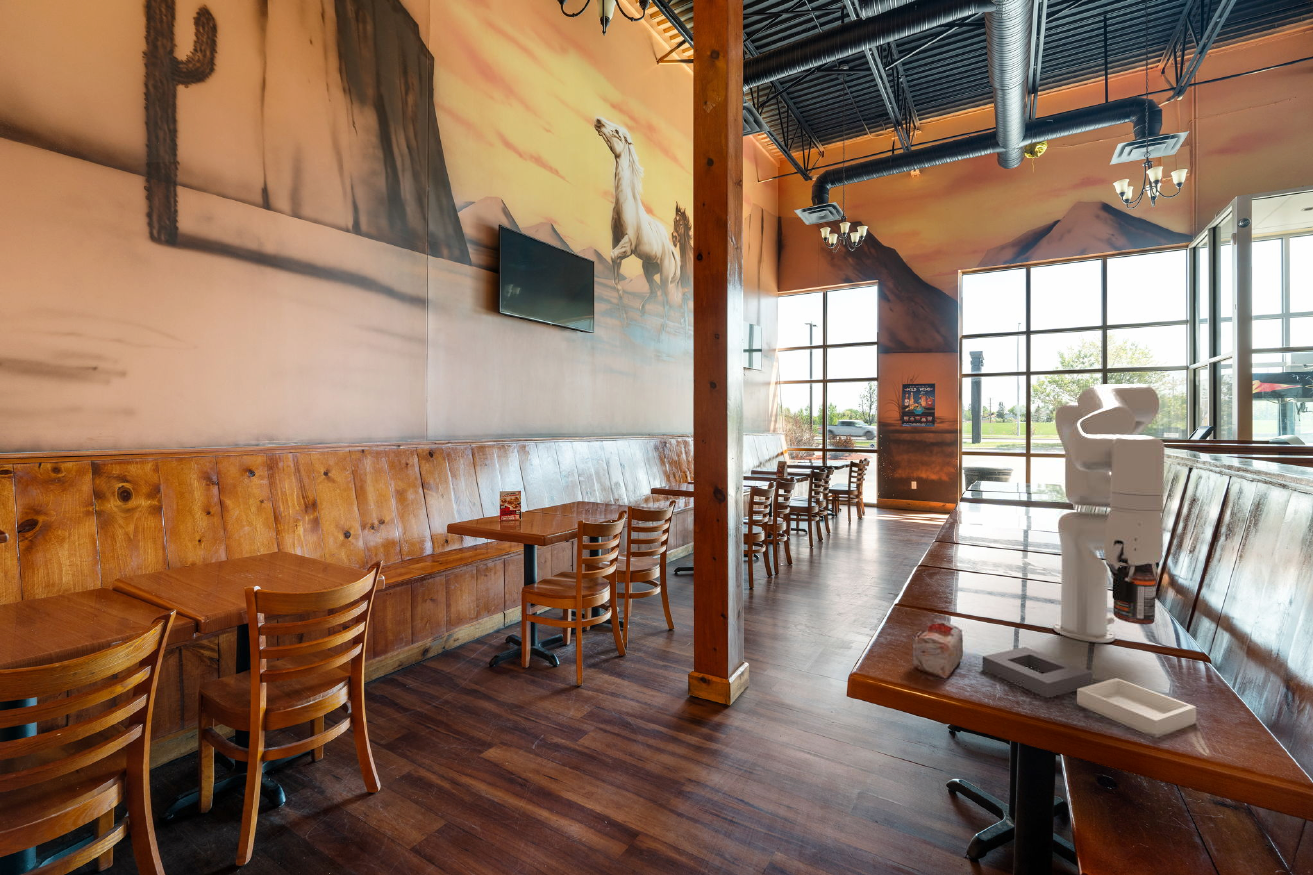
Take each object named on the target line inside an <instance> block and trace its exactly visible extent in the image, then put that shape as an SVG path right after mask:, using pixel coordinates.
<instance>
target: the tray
mask: <svg viewBox="0 0 1313 875" xmlns="http://www.w3.org/2000/svg"><path fill="white" fill-rule="evenodd" d="M1077 704H1078V706H1080V707H1082V708H1085V709H1087V710H1090V711H1091V712H1094V713H1096V714H1099V715H1101V716H1104V717H1106V718H1108V719H1110V720H1113V721H1115V722H1118V723H1120V724H1123V725H1124V726H1127V727H1129V728H1132V729H1134V730H1136V731H1138V732H1141V733H1144V734H1146V735H1148V736H1150V737H1152V738H1155V739H1156V738H1160V737H1162V736H1165V735H1167V734H1170V733H1173V732H1176V731H1178V730H1181V729H1183V728H1186V727H1189V726H1190V727H1191V726H1192V725H1195V724H1197V706H1195V705H1192V704H1189V703H1187V702H1184V701H1181V700H1179V699H1176V698H1173V697H1170V696H1168V695H1165V694H1163V693H1159V692H1157V691H1154V690H1151V689H1148V688H1146V687H1143V686H1140V685H1137V684H1135V683H1131V682H1129V681H1127V680H1123V679H1120V678H1117V677H1116V678H1111V679H1108V680H1104V681H1100V682H1098V683H1097V682H1096V683H1094V684H1093V683H1092V685H1090V686H1086V687H1083V688H1079V689H1077V690H1076V705H1077Z"/></svg>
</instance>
